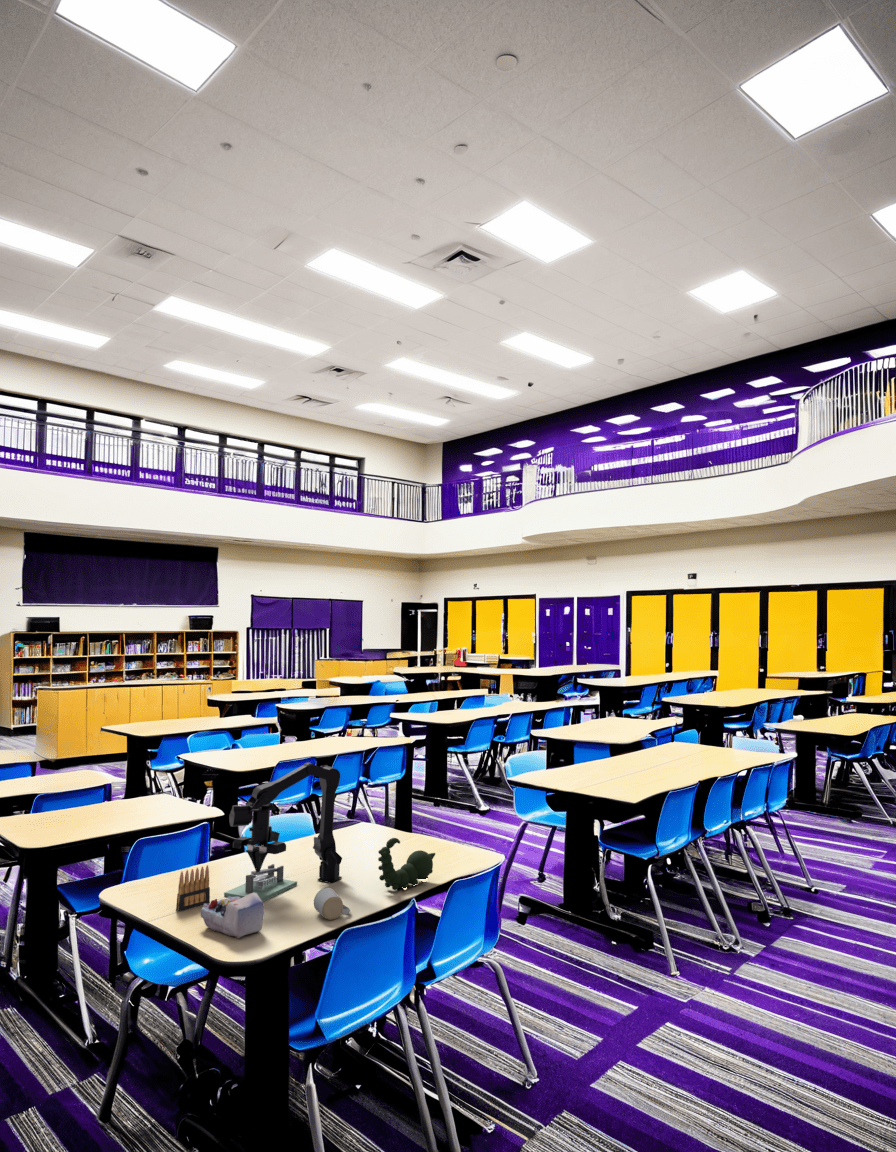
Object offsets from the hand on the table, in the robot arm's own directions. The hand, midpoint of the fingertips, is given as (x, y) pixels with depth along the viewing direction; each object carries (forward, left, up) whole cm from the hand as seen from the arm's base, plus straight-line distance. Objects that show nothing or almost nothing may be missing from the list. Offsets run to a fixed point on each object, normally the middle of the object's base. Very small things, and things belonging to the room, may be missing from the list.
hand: (257, 871), depth 243 cm
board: (0, -2, -7) cm, 7 cm away
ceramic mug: (-35, +7, -7) cm, 37 cm away
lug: (0, +4, -6) cm, 7 cm away
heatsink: (0, -2, -6) cm, 6 cm away
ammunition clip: (+9, +20, -7) cm, 23 cm away
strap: (0, -4, -1) cm, 4 cm away
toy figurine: (-44, -28, -7) cm, 52 cm away
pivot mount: (0, -10, -6) cm, 11 cm away
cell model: (-15, +29, -7) cm, 33 cm away
